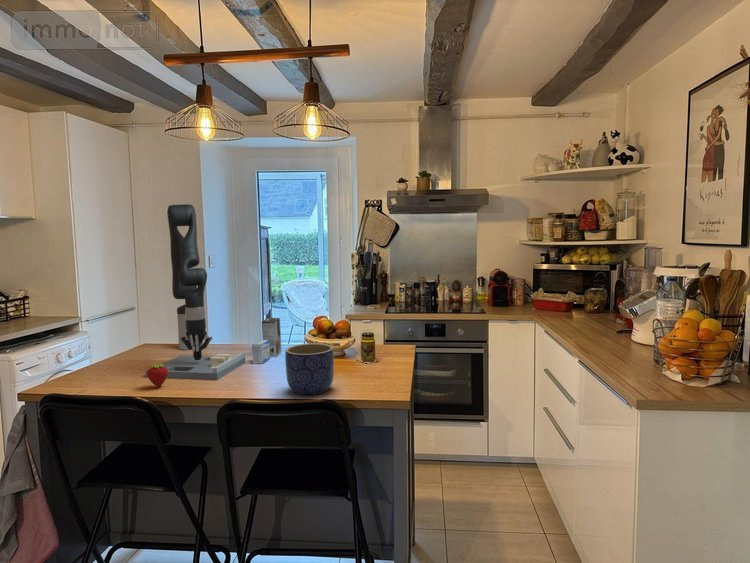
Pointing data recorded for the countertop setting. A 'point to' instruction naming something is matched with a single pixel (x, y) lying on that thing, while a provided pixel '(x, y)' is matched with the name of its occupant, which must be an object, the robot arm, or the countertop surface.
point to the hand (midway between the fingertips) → (197, 359)
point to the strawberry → (157, 374)
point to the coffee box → (272, 335)
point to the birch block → (219, 359)
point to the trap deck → (201, 367)
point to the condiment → (368, 347)
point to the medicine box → (260, 352)
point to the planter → (309, 367)
